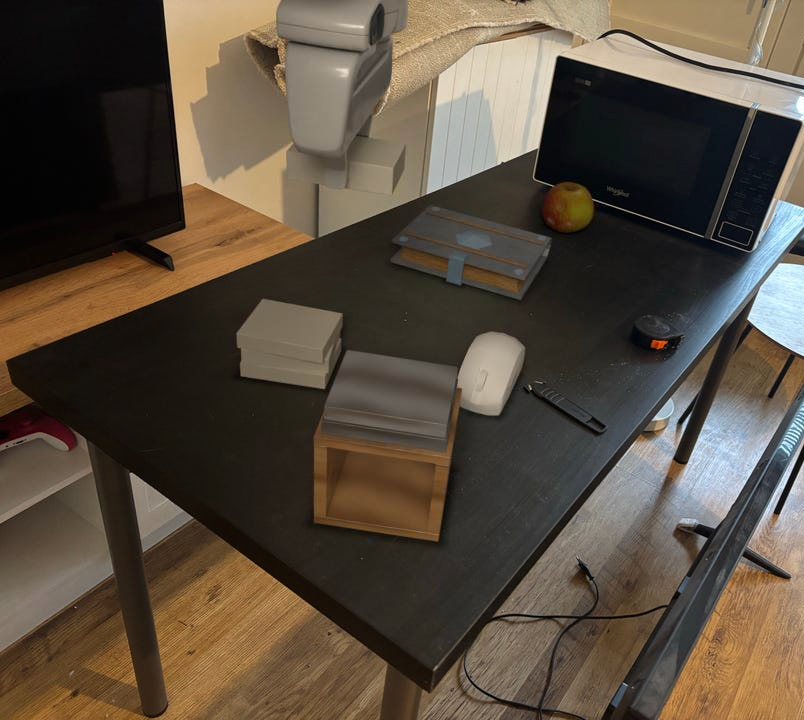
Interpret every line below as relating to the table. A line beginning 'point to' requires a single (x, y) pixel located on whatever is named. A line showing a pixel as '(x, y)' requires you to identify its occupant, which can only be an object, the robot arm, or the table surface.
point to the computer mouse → (490, 372)
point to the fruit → (568, 207)
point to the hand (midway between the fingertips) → (347, 169)
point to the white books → (290, 344)
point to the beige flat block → (355, 165)
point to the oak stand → (386, 446)
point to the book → (472, 251)
